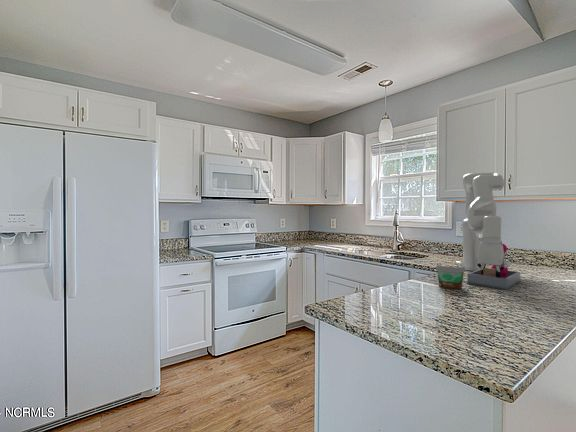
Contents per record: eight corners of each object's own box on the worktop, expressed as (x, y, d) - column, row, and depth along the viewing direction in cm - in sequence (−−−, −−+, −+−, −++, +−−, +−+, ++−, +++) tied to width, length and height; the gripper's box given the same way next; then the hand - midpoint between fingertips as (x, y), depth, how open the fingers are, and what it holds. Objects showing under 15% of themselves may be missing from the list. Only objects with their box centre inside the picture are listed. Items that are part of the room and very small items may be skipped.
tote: (467, 283, 150) (467, 273, 150) (483, 276, 167) (484, 267, 167) (506, 290, 138) (506, 279, 138) (520, 281, 155) (520, 272, 155)
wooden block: (486, 277, 152) (486, 267, 152) (498, 279, 148) (498, 269, 148) (483, 279, 148) (483, 269, 148) (495, 281, 145) (495, 270, 145)
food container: (434, 288, 140) (435, 266, 140) (435, 285, 146) (435, 264, 146) (465, 291, 134) (466, 268, 134) (465, 288, 140) (465, 266, 140)
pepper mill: (507, 281, 151) (508, 241, 150) (490, 279, 155) (491, 240, 155) (508, 279, 157) (508, 240, 156) (491, 277, 161) (491, 239, 161)
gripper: (469, 240, 152) (468, 276, 152) (510, 243, 139) (509, 282, 140) (474, 239, 157) (473, 274, 157) (514, 242, 144) (513, 280, 145)
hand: (490, 278), depth 148 cm, fingers closed on wooden block, 5 cm apart
